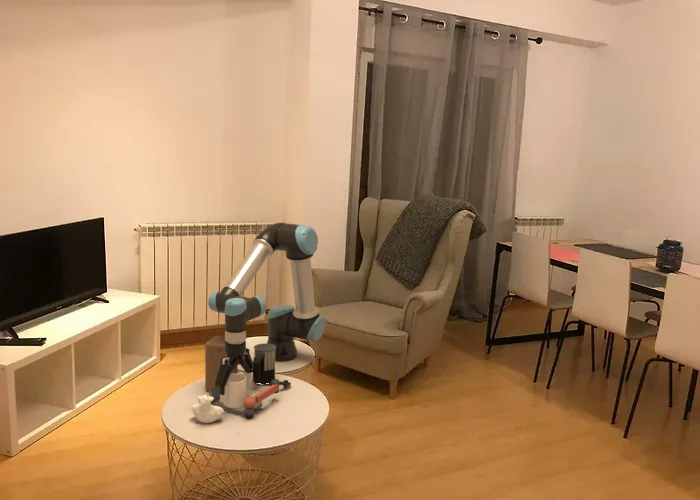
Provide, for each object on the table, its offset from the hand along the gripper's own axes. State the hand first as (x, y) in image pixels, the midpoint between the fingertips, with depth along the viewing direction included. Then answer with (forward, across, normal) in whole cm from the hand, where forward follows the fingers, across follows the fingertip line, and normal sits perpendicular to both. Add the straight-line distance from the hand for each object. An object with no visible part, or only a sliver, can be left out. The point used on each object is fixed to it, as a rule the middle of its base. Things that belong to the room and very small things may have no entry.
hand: (235, 395), depth 217 cm
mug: (+3, -1, 0) cm, 3 cm away
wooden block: (+5, -10, -14) cm, 18 cm away
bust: (+5, +14, -2) cm, 15 cm away
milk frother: (+5, -24, 0) cm, 25 cm away
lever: (+2, -4, +9) cm, 10 cm away
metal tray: (+4, 0, +1) cm, 5 cm away
